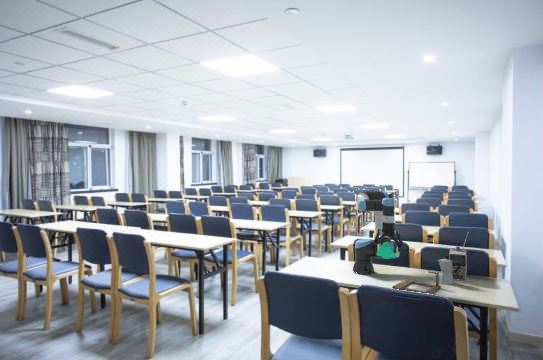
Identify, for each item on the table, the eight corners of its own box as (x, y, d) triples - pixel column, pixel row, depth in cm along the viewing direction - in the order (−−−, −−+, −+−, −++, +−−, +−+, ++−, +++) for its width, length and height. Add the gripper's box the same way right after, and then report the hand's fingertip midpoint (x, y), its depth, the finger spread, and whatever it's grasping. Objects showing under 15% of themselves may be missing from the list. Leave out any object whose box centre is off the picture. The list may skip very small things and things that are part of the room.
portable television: (448, 280, 243) (448, 235, 242) (449, 271, 264) (449, 230, 263) (468, 282, 237) (469, 236, 237) (468, 273, 258) (468, 231, 258)
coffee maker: (433, 282, 239) (433, 254, 238) (439, 279, 245) (439, 252, 245) (458, 287, 228) (458, 258, 228) (462, 284, 234) (463, 256, 234)
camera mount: (399, 257, 235) (399, 242, 235) (394, 260, 229) (394, 243, 229) (381, 254, 243) (381, 239, 242) (376, 257, 237) (376, 241, 236)
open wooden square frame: (392, 288, 226) (392, 272, 226) (405, 280, 242) (405, 265, 241) (428, 296, 211) (428, 279, 211) (440, 287, 227) (440, 271, 227)
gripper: (368, 221, 241) (368, 253, 242) (404, 224, 225) (404, 259, 225) (373, 219, 247) (373, 251, 247) (409, 223, 230) (409, 257, 231)
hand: (388, 255), depth 236 cm, fingers closed on camera mount, 12 cm apart
